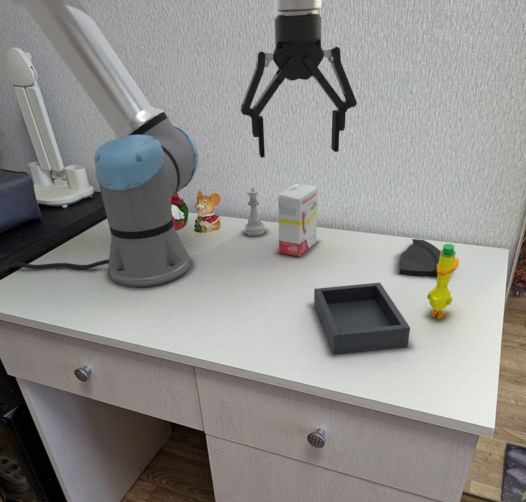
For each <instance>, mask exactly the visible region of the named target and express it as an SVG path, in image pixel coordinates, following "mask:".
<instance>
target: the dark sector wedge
mask: <svg viewBox="0 0 526 502" xmlns="http://www.w3.org/2000/svg"><path fill="white" fill-rule="evenodd" d="M411 241H412V244H410V245H409V246H408V247H407V249H405V250H404V251H402V253H400V257H399V263H398V269H399V271H398V272H399V274H406V275H416V276H434V277H437V275H438V273H437V264H438V263H439V258H440V251H441V250H440V249H439V248H438V247H436V246H435V245H433V244H432V243H431V242H429V241H427V240H424V239H417V238H411Z"/></svg>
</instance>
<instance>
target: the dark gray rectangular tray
mask: <svg viewBox="0 0 526 502" xmlns="http://www.w3.org/2000/svg"><path fill="white" fill-rule="evenodd" d="M313 289H314V291H313V292H314V293H313V307H314V309H315V312H316V314H317V317H318V319H319V322H320V324H321V328H322V330H323V332H324V335H325V337H326V340H327V342H328V343H327V344H328V345H329V348H330V350H331V353H332V355H341V354H351V353H352V354H353V353H361V352H368V351H369V352H370V351H379V350H389V349H398V348H407V347H408V346H409V339H410V332H411V326H410V324H409V323H408V322H407V320H406V319H405V318H404V316H403V314H402V313H401V312H400V310H399V308H398V307H397V305H396V304H395V302H394V301H393V300H392V298H391V297H390V295H389V294H388V292H387V291H386V289H385V287H384V286H383V284H382V283H381V282H372V283H371V282H370V283H369V282H368V283H360V284H349V285H337V286H329V287H328V286H327V287H319V288H313Z"/></svg>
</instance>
